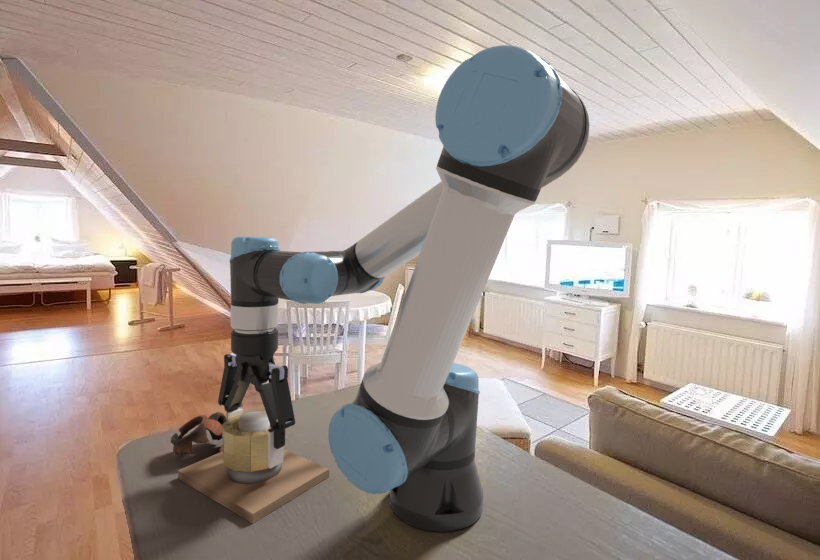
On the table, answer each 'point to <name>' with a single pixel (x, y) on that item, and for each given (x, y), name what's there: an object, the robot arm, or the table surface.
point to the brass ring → (244, 447)
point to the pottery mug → (199, 432)
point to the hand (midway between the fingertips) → (254, 454)
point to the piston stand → (253, 478)
